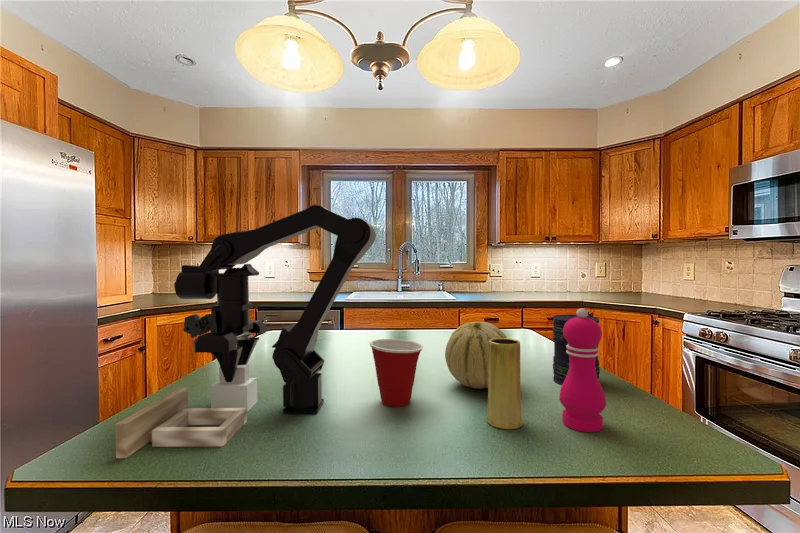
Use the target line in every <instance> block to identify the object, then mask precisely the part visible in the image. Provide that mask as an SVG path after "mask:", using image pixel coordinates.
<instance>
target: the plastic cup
mask: <svg viewBox="0 0 800 533" xmlns="http://www.w3.org/2000/svg"><path fill="white" fill-rule="evenodd" d="M369 346H370V347H371V351H372V357H373V361H374V366H375V374H376V379H377V386H378V389H379V395H380V400H381V403H382V404H383V405H384V406H386V407H394V408H400V407H405V406H407V405H409V404H410V402H411V399H412V393H413V387H414V384H415V383H414V382H415V378H416V372H417V365H418V360H419V356H420V353H422V351H423V348H424V345H422V343H420V342H417V341H413V340H408V339H399V338H397V339H396V338H380V339H379V338H378V339H374V340H371V341H370V342H369Z"/></svg>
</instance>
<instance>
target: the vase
mask: <svg viewBox="0 0 800 533" xmlns="http://www.w3.org/2000/svg"><path fill="white" fill-rule="evenodd" d="M487 390H488V391H487V394H488V395H487V415H486V422H487V423H488V424H489V425H490V426H492V427H494V428H496V429H501V430H515V429H519V428H521V427H523V425H524V420H523V413H522V412H523V411H522V410H523V409H522V396H521V395H522V394H521V392H522V391H521V341H520V340H518V339H515V338H508V337H507V338H495V339H491V340H489V378H488V388H487Z"/></svg>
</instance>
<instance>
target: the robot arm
mask: <svg viewBox="0 0 800 533" xmlns="http://www.w3.org/2000/svg"><path fill="white" fill-rule="evenodd" d="M316 229H322V230H324V231H327V233H331V234H332V235H335V236H336V240H335V243H334V249H333V254H332V258H331V260H330V263H329V264H328V265H327V266H328V267H327V268H326V270H325V272H324V273H323V275H322V278H321V279H320V281H319V282H318V285H317V287H316V288H315V289H314V292H313V294H312V295H311V297H310V299H309V301H308V303H307V305H306V307H305V308H304V310H303V312H302V314H301V316H300V318H299V320H298V321H297V323H291V324H289V325H287V326H285V327H283V328H282V329H281V331H280V333H279V336H278V339H277V341H276V342H275V343H274V344H273V345H272V346H271V347H272V348H273V349H274V350H273V351H272V356H271V357H272V360H273V362H274V365H275V366H276V368H277V370H279V373H280V375H281V378H282V380H283V382H284V384H283V385H282V406H283V407H284V408H283V410H282V414H318V413H319V411H320V409H321V407H322V406H323V404H324V402H325V398H322V397H323V396H322V392H323V390H322V389H323V388H322V387H323V386H322V385H323V384H322V382H323V381H322V373H321V371H322V369H323V367H324V364H325V359H323V358H322V356H321V355H320V354H319V353H318V352H316V350H315V347H316V345H317V342H318V337H319V330H320V328H321V326H322V324H323V322H324V320H325V319H326V317H327V315H328V313H329V311H330V310H331V307H332V305H333V303H334V302H335V300H336V299H337V297H338V296H339V293H340V292H341V289H342V287H343V286H344V284H345V282H346V280H347V279H348V276H349V274H350V273H351V271H352V269H353V268H354V266H356V265H357V263H358V262H359V261H360V260H361V259H362V258H363V257H364V256H365V255H366V253H367V252H368V251H369V250H370V248H371V247H372V246H373V244H374V243H375V240H376V235H377V234H376V231H375V228H374V226H373V224H371V223H369V222H368V221H366V220H365V219H363V218H360V217H351V218H346V217H344V216H341V215H340V214H338V213H335V212H333V211H330V210H329V209H328V208H327V207H324V206H322V205H321V204H311V205H310V206H309V207H307V208H305V209H302V210H301V211H297V212H295V213H292V214H289V215H287V216H285V217H282V218H280V219H277V220H274V221H272V222H269V223H266V224H265V225H262V226H260V227H257V228H255V229H254V228H253V229H248V230H242V231H241V230H240V231H235V232H228V233H224V234H220V235H217V236H216V237H215V238H214V239H213V240H212V243H211V247H210V250H209V251H208V253H207V254H206V256H205V257H204V258H203V260H202V261H201V263H200V264H199V265H194V264H185V265H183V264H182V265H181V271H180V272H179V273H178V274H177V276H176V279H175V282H174V286H173V287H174V292H175V295H176V296H177V297H178V298H179V299H181V300H212V299H214V298H215V297H217V298H216V301H217V302H216V304H214V305H212V307H211V309H210V310H211V313H209V314H206V315H204V316H200V315H199V314H197V313H195V314H191V315H188V316H185V317H184V322H183V328H182V330H183V332H184V333H186V334H189V336H190V339H194V338H195V340H194V341H193V353H198V354H199V353H200V354H201V353H210V354H211V355H213V356H214V357H215V358H216V360H217V362H218V366H219V368H221V370H222V373H223V375H224V378H225V381H226V382H232V381H233V378H234V375H235V372H236V368H237V365H248V363H249V360H250V358H251V357H252V356H251V355H252V354H253V351H254V349H255V348H256V346H257V343H258V341H259V340H260V337H258V336H257V337H255V336H254V335H253V334H256V333H257V335H259V336H262V335H264V334H266V331H267V330H266V326H267V325H266V323H265V322H264V321H263V320H262V319H261V320H259V319H257V320H256V319H253V320H251V319H250V309H253V308H254V307H253V306H254V304H253V303H254V302H250V299H249V297H250V294H249V292H250V290H249V288H250V286H249V285H250V283H249V277H254V276H259V275H260V271H258V270H257V269H256V268H255V267H253V265H252V263H248V262H250V261H251V260H253V259H255V258H256V257H258V256H259V255H261V253H263V252H264V251H265V250H267V249H268V248H270V247H273V246H275V245H277V244H280V243H283V242H286V241H288V240H290V239H293V238H296V237H298V236H300V235H303V234H306V233H308V232H312V231H314V230H316ZM237 265H242V267H241V266H240V267H235V266H237ZM220 270H224V272H220ZM216 295H217V296H216Z"/></svg>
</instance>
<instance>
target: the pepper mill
mask: <svg viewBox="0 0 800 533" xmlns="http://www.w3.org/2000/svg"><path fill="white" fill-rule="evenodd" d="M575 315H577V316H578V317H575V318H572V319H570V320H568V321H567V322H566V323H565V325H564V328H563V335H564V338H565V339H566V340H567V342H568V344H567V345H566V347H567V350H566V353H567V354H569V360H570V362H569V370H568V374H567V376H566V378H565V380H564V382H563V384H562V385H560V386H561V387H560V389H559V390H560V391H559V396H558V397H559V402H560V404H561V405H562V406H563V408H564V409H563V410H562V419H561V420H562V423H563V425H565V426H566V427H568V428H569V429H572V430H574V431H578V432H584V433H597V432H600V431H602V430H603V428H604V420H603V419H604V417H603V416H602V415H601V413H602V412H603V411H604V410H605V409H606V406H607V398H606V394H605V391H604V389H603V387H602V384H601V383H600V381H599V379H598V378H597V375H596V370H595V360H596V356H598V357H599V355H600V354H599V349H600V348H599V346H598V347H597V346H596V345H597V344H598V343H599V344H600V342H601V340H602V336H603V332H602V327H601V326H600V324H599V323H597V322H596V321H594V320H592V319H590V318H586V317H587V316H589V313H588V310H587V309H586V308H583V307H582V308H578V309H576V313H575ZM599 344H598V345H599Z"/></svg>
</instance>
